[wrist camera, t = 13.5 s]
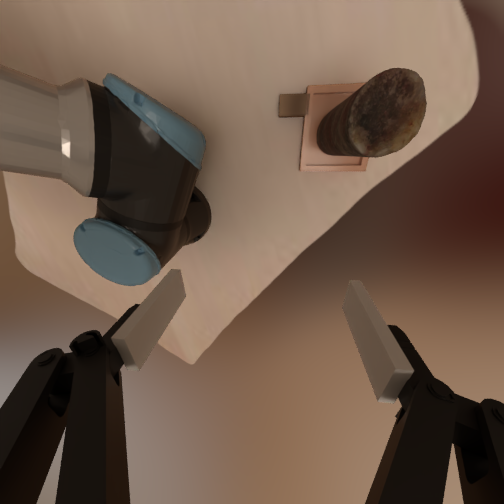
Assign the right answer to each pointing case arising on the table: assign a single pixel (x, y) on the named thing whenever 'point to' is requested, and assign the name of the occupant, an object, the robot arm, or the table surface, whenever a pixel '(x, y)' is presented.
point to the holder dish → (319, 106)
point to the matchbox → (293, 105)
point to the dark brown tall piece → (375, 116)
